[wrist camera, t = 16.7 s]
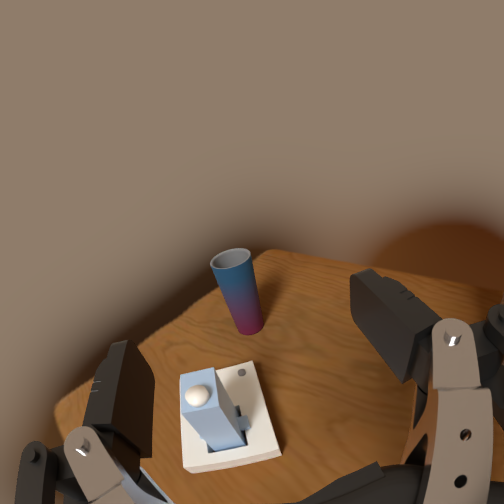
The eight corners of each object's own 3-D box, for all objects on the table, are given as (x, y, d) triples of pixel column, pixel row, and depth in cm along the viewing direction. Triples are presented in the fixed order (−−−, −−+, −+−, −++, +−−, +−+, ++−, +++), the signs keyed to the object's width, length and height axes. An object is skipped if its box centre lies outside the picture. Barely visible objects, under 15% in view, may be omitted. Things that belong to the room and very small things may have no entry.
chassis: (185, 387, 40) (178, 377, 39) (255, 370, 41) (251, 359, 40) (191, 473, 26) (182, 466, 24) (281, 455, 27) (278, 447, 25)
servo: (205, 425, 33) (167, 372, 28) (249, 415, 33) (222, 359, 28) (209, 456, 28) (166, 411, 23) (257, 446, 29) (229, 398, 23)
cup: (236, 316, 55) (215, 251, 49) (269, 313, 54) (252, 245, 47) (230, 339, 49) (205, 271, 43) (266, 337, 48) (247, 265, 41)
